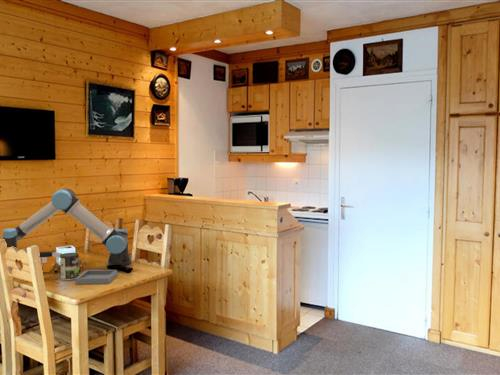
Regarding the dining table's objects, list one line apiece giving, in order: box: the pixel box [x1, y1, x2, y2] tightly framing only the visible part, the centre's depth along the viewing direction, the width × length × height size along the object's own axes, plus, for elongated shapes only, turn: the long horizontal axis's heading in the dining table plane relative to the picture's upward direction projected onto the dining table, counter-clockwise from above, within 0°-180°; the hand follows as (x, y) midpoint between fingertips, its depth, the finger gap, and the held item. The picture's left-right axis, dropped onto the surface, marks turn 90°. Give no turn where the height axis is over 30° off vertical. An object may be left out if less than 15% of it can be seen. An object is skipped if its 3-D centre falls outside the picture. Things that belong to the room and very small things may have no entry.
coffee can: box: [59, 252, 80, 281], centre depth 268 cm, size 10×10×14 cm
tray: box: [74, 269, 118, 285], centre depth 265 cm, size 18×18×3 cm
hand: (54, 257), depth 270 cm, fingers open, 13 cm apart
